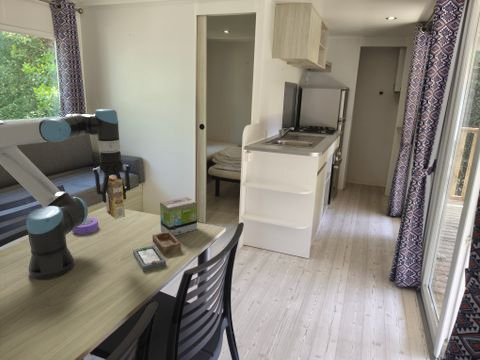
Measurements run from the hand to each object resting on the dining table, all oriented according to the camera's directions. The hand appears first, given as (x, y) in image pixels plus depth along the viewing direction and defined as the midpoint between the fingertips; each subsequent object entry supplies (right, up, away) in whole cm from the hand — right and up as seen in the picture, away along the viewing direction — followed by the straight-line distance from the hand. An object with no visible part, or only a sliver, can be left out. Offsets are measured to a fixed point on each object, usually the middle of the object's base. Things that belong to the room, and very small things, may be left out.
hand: (115, 208), depth 133 cm
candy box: (0, -3, +1) cm, 3 cm away
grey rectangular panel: (+13, -21, +3) cm, 24 cm away
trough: (+17, -18, +14) cm, 29 cm away
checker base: (+13, -21, +3) cm, 25 cm away
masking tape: (-26, -13, +29) cm, 41 cm away
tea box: (+20, -13, +31) cm, 39 cm away
